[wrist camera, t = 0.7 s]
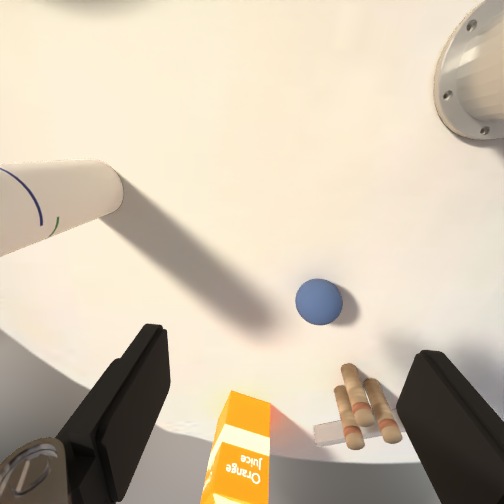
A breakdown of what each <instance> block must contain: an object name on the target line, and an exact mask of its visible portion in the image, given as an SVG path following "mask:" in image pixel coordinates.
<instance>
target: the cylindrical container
mask: <svg viewBox="0 0 504 504" xmlns="http://www.w3.org/2000/svg"><path fill="white" fill-rule="evenodd" d="M123 194H124V191H123V186H122V182H121V180H120V178H119V176H118V175H117V173H116V172H115V171H114V170H113V169H112V168H111V167H110V166H109V165H107V164H106V163H104V162H102V161H100V160H97V159H74V160H57V161H40V162H23V163H6V164H0V257H1V256H3V255H6V254H9V253H11V252H14V251H16V250H19V249H21V248H24V247H26V246H29V245H31V244H34V243H36V242H39V241H41V240H44V239H46V238H49V237H52V236H54V235H57V234H59V233H62V232H64V231H67V230H69V229H72V228H74V227H77V226H79V225H82V224H84V223H87V222H89V221H92V220H94V219H97V218H99V217H102V216H104V215H107V214H109V213H112V212H114V211H115V210H117V209H118V208H119V207H120V205H121V203H122V200H123Z"/></svg>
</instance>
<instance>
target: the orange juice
mask: <svg viewBox="0 0 504 504" xmlns="http://www.w3.org/2000/svg"><path fill="white" fill-rule="evenodd" d="M269 452H270V403H268V402H265V401H262V400H259V399H256V398H253V397H250V396H246V395H243V394H240V393H237V392H234V391H231V392H230V395H229V397H228V399H227V401H226V404H225V406H224V408H223V410H222V412H221V415H220V417H219V419H218V423H217V428H216V432H215V437H214V442H213V447H212V451H211V455H210V459H209V464H208V469H207V475H206V479H205V484H204V489H203V493H202V498H201V503H200V504H268V481H269Z"/></svg>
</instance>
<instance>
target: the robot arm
mask: <svg viewBox="0 0 504 504" xmlns="http://www.w3.org/2000/svg"><path fill="white" fill-rule="evenodd" d="M467 28H468V30H467ZM433 93H434V100H435V106H436V108H437V111H438V114H439V116H440V117H441V119H442V121H443V122H444V124H445V125H446V126H447V127H449V128H450V129H451V130H452V131H453V132H455V133H457V134H459V135H461V136H463V137H467V138H470V139H482V140H486V139H498V138H502V137H504V0H485V1H484V2H482V3H481V4H480V5H478V6H477V7H476V8H474V9H473V10H472V11H471V12H470V13H469V14H468V15H467V16H466V17H465V18H464V19H463V20H462V21H461V23H460V24H459V25H458V27H457V28H456V29H455V31H454V32H453V33H452V35H451V36H450V38H449V40H448V42H447V43H446V45H445V47H444V49H443V51H442V53H441V56H440V59H439V61H438V64H437V68H436V72H435V77H434V89H433ZM444 95H445V98H443V96H444ZM170 381H171V380H170V366H169V353H168V339H167V330H166V329H163V327H162V325H156V324H145V325H144V326H143V328H142V329H141V330H140V332H139V333H138V335H137V336H136V337H135V339H134V340H133V341H132V343H131V344H130V346H129V347H128V348H127V350H126V351H125V353H124V354H123V355H122V357H121V358H117V359H115V360H114V361H113V362H112V363H111V364H110V365H109V367H108V368H107V369H106V371H105V372H104V373H103V375H102V376H101V377H100V379H99V380H98V381H97V383H96V384H95V385H94V387H93V388H92V389H91V391H90V392H89V394H88V395H87V396H86V397H85V399H84V400H83V401H82V403H81V404H80V405H79V407H78V408H77V409H76V411H75V412H74V413H73V415H72V416H71V417H70V419H69V420H68V421H67V423H66V424H65V425H64V427H63V428H62V430H61V431H60V432H59V433H58V435H57V436H56V437H55V438H51V437H49V438H40V439H38V440H34V441H32V442H29V443H27V444H26V445H24V446H22V447H20V448H18V449H17V450H16V451H15V452H13V453H12V454H11V455H9V456H8V457H7V458H6V459H5V460H4V461H3V462H2V463H1V464H0V504H116V502H121V501H122V499H123V498H124V496H125V494H126V492H127V489H128V487H129V484H130V482H131V479H132V477H133V475H134V473H135V470H136V468H137V465H138V463H139V461H140V458H141V456H142V453H143V451H144V449H145V446H146V444H147V442H148V439H149V437H150V434H151V432H152V430H153V427H154V425H155V423H156V420H157V418H158V415H159V413H160V411H161V408H162V406H163V404H164V401H165V399H166V396H167V394H168V391H169V388H170ZM396 409H397V414H398V416H399V418H400V420H401V422H402V424H403V426H404V428H405V430H406V433H407V435H408V437H409V439H410V441H411V443H412V445H413V447H414V449H415V451H416V453H417V455H418V457H419V459H420V461H421V463H422V465H423V467H424V469H425V471H426V473H427V475H428V477H429V479H430V481H431V483H432V485H433V487H434V489H435V491H436V493H437V495H438V497H439V499H440V502H441V503H442V504H504V422H503V421H502V419H501V418H500V417H499V416H498V415H497V414H496V413H495V411H494V410H493V409H492V408H491V407H490V406H489V405H488V403H487V402H486V401H485V400H484V399H483V398H482V397H481V395H480V394H479V393H478V392H477V391H476V390H475V389H474V387H473V386H472V385H471V384H470V383H469V382H468V381H467V379H466V378H465V377H464V376H463V375H462V374H461V373H460V371H459V370H458V369H457V368H456V367H455V366H454V365H453V363H452V362H451V361H450V360H449V359H448V358H447V357H446V355H445V354H444V353H442V352H440V351H431V350H422V351H421V352H420V353H419V354H416V356H415V358H414V361H413V364H412V366H411V369H410V371H409V374H408V376H407V379H406V381H405V384H404V387H403V389H402V392H401V394H400V397H399V399H398V402H397V405H396Z"/></svg>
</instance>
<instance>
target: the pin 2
mask: <svg viewBox="0 0 504 504" xmlns="http://www.w3.org/2000/svg"><path fill="white" fill-rule="evenodd" d="M364 387H365V390H366V393H367V396H368V398H369V401H370V404H371V406H372V409H373V412H374V415H375V417H376V420H377V423H378V426H379V429H380V432H381V434H382V436H383V439H384V441H385V442H387V443H390V444H395V443H398V442H400V441H401V440H402V435H401V433H400V429H399V427H398V425H397V423H396V421H395V419H394V417H393V414H392V412H391V410H390V407H389V405H388V403H387V400H386V398H385V396H384V394H383V391H382V389H381V387H380V384H379V382H378V381H377V380H376V379H373V378H371V379H367V380H365V381H364Z"/></svg>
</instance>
